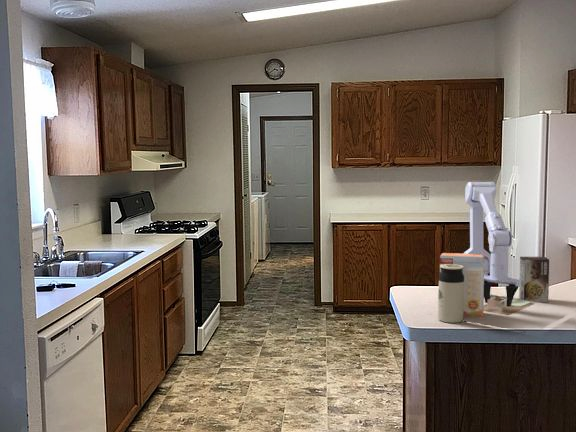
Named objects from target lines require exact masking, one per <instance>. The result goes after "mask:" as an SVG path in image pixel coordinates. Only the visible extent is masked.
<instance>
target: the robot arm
mask: <svg viewBox="0 0 576 432" xmlns="http://www.w3.org/2000/svg"><path fill="white" fill-rule="evenodd" d="M464 189H465V190H464V191H465V192H464V193H465V195H464V196H465V198H464V199H465V203H466V204H467V205H469V243H470V244H469V248H468V249H467V250H465V251H464V252H463V253H462V254H477V255H484V303H485V304H487V300H488V299H490V298H491V289H492V283H494V284H499V285H500V284H501V285H505V291H506V298H507V303H506V304H507V306H508V307H509V306H511V304H512V300H513V299H514V296H515V294H516V292H517V290H519V286H521V280H520V279H516V278H512V277H509V274H508V273H509V249H510V248H509V247H511V245H512V243H513V242H512V241H513V236H512V232H511V229H508V227H506V225H505V223H504V222H505V221H504V219H503V217H502V215H501V214H500V213H499V212H497V207H496V202H495V197H496V195H497V185H496V183H495V182H494V181H485V182H483V181H481V182H480V181H478V182H477V181H473V182H472V181H468V183H466V185H465V188H464ZM484 213H485V215H486V216H485V218H484ZM484 223H485V225H486V229H487V232H488V237H487V240H488V241H487V242H488V244H489V245H488V249H489V252H488V251H487V250H486V249H485V247H484ZM488 274H489V275H488Z"/></svg>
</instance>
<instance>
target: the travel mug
mask: <svg viewBox="0 0 576 432" xmlns="http://www.w3.org/2000/svg"><path fill="white" fill-rule="evenodd" d="M440 267H441V272H440V271H439V274H438V302H437V303H438V304H437V320H439V321H440V322H443V323H448V324H456V323H461V322H463V321H464V315H463V305H464V275H463V273H462V270H463V268H464V267H463V266H462V265H457V264H442V265H440V264H439V268H440Z"/></svg>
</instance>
